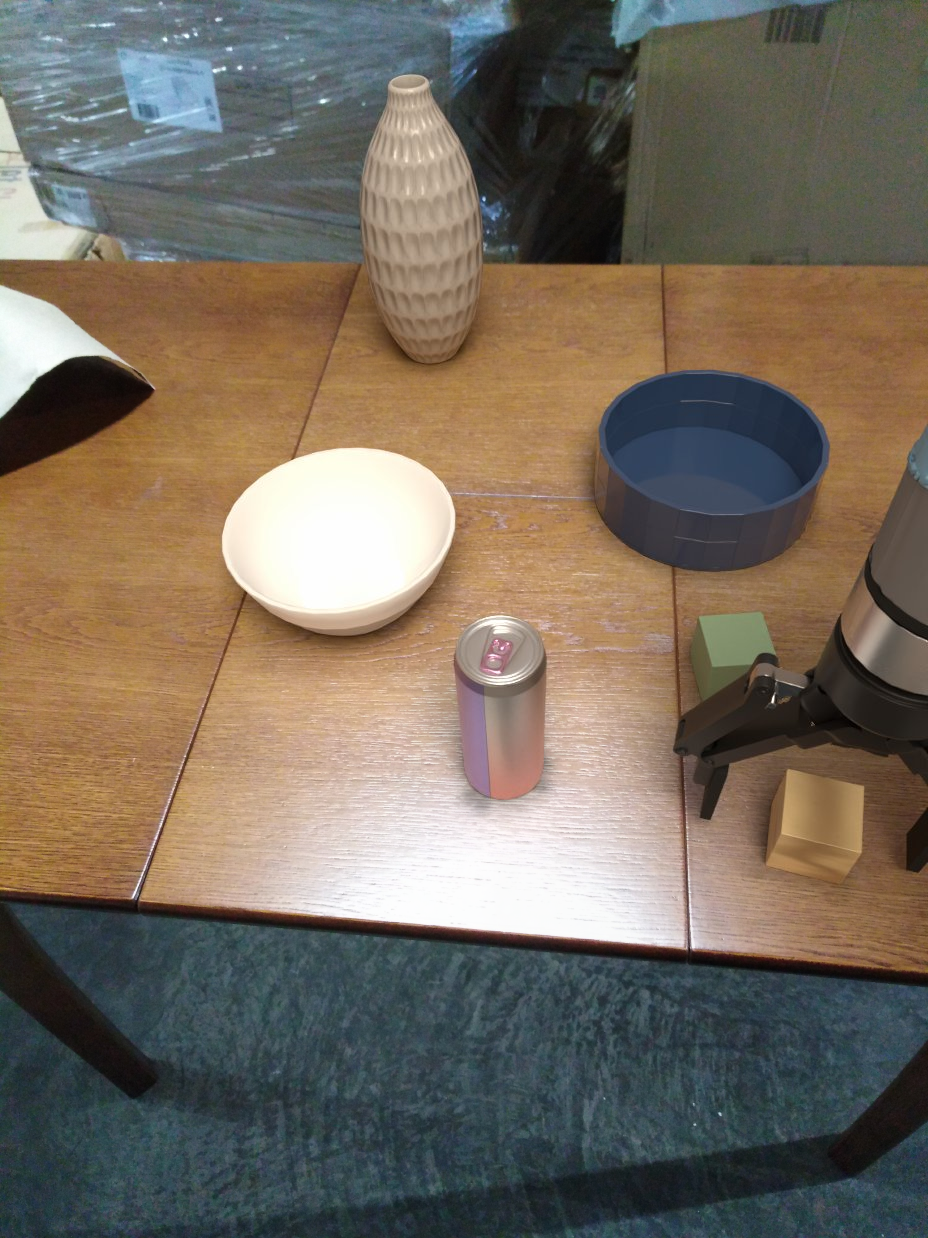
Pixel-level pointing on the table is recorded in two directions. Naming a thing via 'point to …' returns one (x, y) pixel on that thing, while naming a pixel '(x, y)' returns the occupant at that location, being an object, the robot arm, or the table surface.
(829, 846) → the beech block
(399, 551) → the bowl
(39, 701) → the table surface
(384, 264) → the vase
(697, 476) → the navy round tub
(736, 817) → the table surface
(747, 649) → the sage block
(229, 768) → the table surface
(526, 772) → the beverage can
